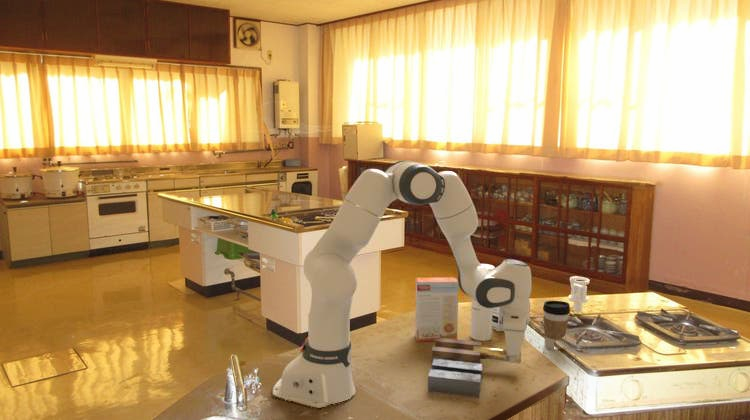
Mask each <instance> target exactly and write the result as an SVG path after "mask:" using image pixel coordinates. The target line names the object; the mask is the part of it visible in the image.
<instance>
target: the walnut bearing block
mask: <svg viewBox="0 0 750 420" xmlns="http://www.w3.org/2000/svg"><path fill="white" fill-rule="evenodd" d="M473 346H478V347H482V341H477V340H474V341H473V340H465V339H458V338H457V339H447V338H437V337H436V340H435V341H434V346H432V348H431V363H430V364H431V367H430V369H432V363H433V360H434V359H442V360H451V361H460V362H469V363H478V364H481V360H482V359H480V351H473Z"/></svg>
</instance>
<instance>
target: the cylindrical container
mask: <svg viewBox="0 0 750 420" xmlns="http://www.w3.org/2000/svg"><path fill="white" fill-rule="evenodd" d="M480 264H481V265H483V266H484V267H485V268H486V269H487V270H489V271H491V270H493V269H495V268H496V267H495V266H494V265H492V264H489V263H480ZM470 311H471V314H470V333H469V335H470V338H471V339H472V338H473V339H472V340H474V339H475V340H474V341H478V340H479V341H478V342H486V341H485V340H487V341H490V340H491V339H492V336H493V335H492V333H493V331H492V329H493V328H492V313H493V308H485V307H483V306H481V305H480V304H478V303H477V302H476V301H474V300H473V299H472V298H471V308H470Z"/></svg>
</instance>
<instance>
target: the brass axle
mask: <svg viewBox="0 0 750 420" xmlns="http://www.w3.org/2000/svg"><path fill="white" fill-rule="evenodd" d="M473 351H480V359H481V360H486V361H494V362H495V361H496V362H505V363H510V362H509V356H507V354H506V348H497V347H487V346H481V347H478V346H473ZM521 363H522V352H521V353H520V356H519V357H516V362H515V363H514V364H521Z"/></svg>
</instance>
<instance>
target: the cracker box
mask: <svg viewBox="0 0 750 420" xmlns="http://www.w3.org/2000/svg"><path fill="white" fill-rule="evenodd" d="M414 298H415V301H414V302H415V303H414V306H415V309H414V311H415V312H414V313H415V314H414V315H415V318H414V321H415V322H414V323H415V324H414V333H415V334H414V336H415V339H416V342H435V340H436V337H437V338H447V339H457V340H458V322H459V321H458V317H459V315H458V314H459V311H458V310H459V284H458V278H456V277H451V276H449V277H447V276H445V277H415V297H414Z"/></svg>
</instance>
